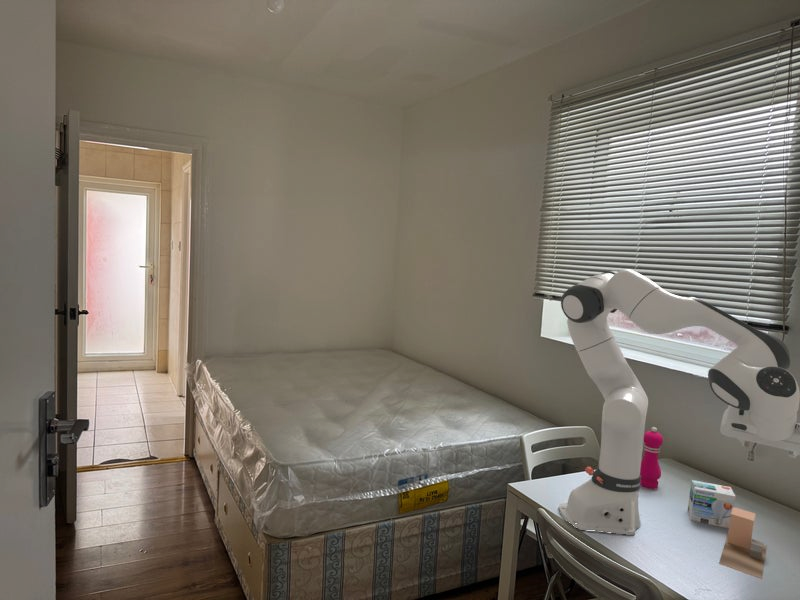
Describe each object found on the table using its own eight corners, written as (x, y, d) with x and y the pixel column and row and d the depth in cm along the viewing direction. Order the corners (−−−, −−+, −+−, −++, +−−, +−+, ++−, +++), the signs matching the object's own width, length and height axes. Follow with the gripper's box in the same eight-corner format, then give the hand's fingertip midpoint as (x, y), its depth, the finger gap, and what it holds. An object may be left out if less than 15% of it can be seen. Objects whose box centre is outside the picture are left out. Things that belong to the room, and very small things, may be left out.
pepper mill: (663, 490, 176) (670, 431, 174) (641, 489, 176) (648, 430, 174) (653, 480, 183) (660, 424, 181) (632, 479, 184) (638, 422, 181)
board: (761, 582, 129) (763, 565, 128) (718, 567, 134) (720, 550, 134) (766, 549, 144) (768, 533, 144) (727, 536, 149) (729, 521, 149)
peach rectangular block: (749, 549, 142) (754, 520, 141) (727, 542, 145) (730, 513, 144) (751, 541, 146) (755, 513, 145) (729, 534, 149) (733, 506, 148)
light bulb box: (689, 523, 156) (694, 488, 154) (686, 513, 162) (690, 478, 161) (731, 532, 152) (737, 496, 151) (726, 521, 158) (731, 486, 157)
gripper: (831, 419, 117) (823, 450, 126) (723, 398, 129) (723, 427, 138) (828, 444, 114) (821, 474, 123) (718, 420, 126) (718, 449, 135)
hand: (768, 449), depth 130 cm, fingers open, 8 cm apart
